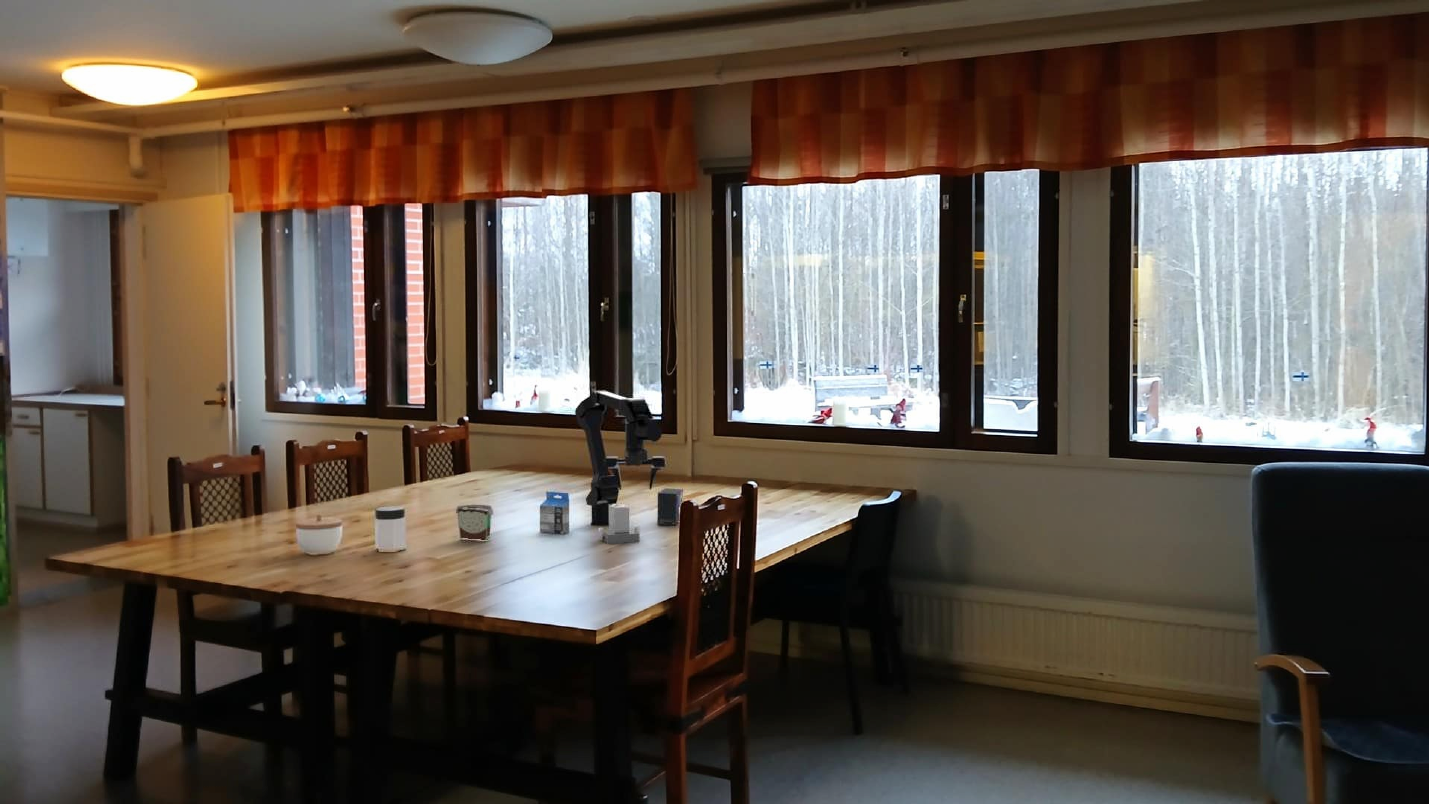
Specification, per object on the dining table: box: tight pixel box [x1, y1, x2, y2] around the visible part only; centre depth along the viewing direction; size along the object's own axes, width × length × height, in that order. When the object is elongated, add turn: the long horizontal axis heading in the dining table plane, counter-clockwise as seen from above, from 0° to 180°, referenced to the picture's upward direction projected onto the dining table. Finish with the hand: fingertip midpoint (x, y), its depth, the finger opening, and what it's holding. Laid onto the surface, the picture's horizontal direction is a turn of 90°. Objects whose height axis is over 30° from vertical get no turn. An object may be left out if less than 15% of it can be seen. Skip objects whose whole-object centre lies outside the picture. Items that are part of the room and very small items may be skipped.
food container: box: [455, 504, 494, 540], centre depth 357 cm, size 12×6×10 cm, turn 65°
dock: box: [597, 525, 641, 545], centre depth 356 cm, size 11×13×4 cm
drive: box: [608, 503, 630, 534], centre depth 356 cm, size 8×4×10 cm, turn 16°
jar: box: [374, 505, 407, 549], centre depth 341 cm, size 9×8×12 cm
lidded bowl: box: [295, 513, 344, 553], centre depth 338 cm, size 13×13×11 cm
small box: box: [656, 487, 684, 526], centre depth 383 cm, size 11×6×10 cm, turn 168°
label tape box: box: [539, 491, 570, 535], centre depth 368 cm, size 9×4×12 cm, turn 62°
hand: (635, 489), depth 368 cm, fingers open, 9 cm apart
